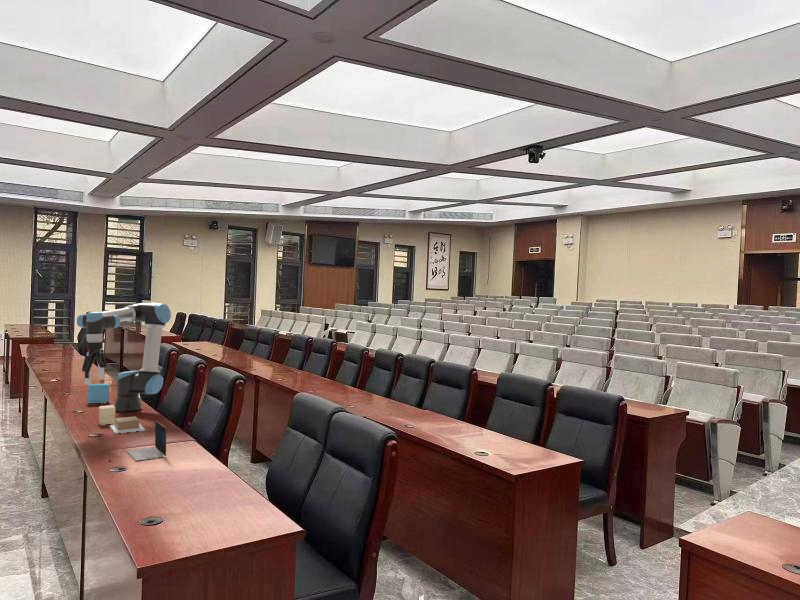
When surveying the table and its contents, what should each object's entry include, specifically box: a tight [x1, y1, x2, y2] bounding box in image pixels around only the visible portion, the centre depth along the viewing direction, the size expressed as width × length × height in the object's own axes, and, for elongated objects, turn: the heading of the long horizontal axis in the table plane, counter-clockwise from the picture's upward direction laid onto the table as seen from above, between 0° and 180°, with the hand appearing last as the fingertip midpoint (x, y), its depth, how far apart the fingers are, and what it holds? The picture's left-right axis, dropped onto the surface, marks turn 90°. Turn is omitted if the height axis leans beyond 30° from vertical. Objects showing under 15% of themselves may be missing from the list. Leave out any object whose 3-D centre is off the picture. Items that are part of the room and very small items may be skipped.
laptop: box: [126, 420, 167, 462], centre depth 262 cm, size 18×12×13 cm
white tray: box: [109, 415, 146, 435], centre depth 308 cm, size 18×14×5 cm
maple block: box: [98, 404, 116, 426], centre depth 319 cm, size 7×7×9 cm
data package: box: [87, 383, 111, 404], centre depth 372 cm, size 12×4×12 cm, turn 119°
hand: (94, 382), depth 310 cm, fingers open, 13 cm apart
